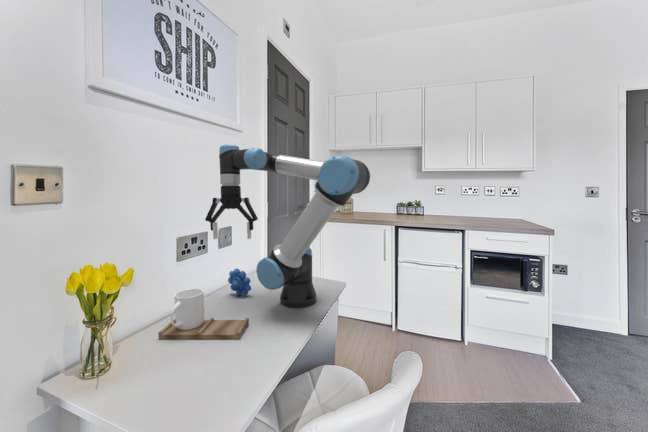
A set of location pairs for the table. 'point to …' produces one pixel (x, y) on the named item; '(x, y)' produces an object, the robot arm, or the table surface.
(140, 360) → the table surface
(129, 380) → the table surface
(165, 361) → the table surface
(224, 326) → the ledge board
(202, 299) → the mug
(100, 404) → the table surface
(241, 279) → the grapes
